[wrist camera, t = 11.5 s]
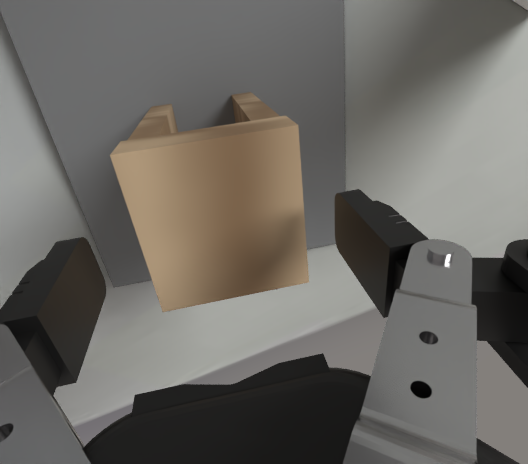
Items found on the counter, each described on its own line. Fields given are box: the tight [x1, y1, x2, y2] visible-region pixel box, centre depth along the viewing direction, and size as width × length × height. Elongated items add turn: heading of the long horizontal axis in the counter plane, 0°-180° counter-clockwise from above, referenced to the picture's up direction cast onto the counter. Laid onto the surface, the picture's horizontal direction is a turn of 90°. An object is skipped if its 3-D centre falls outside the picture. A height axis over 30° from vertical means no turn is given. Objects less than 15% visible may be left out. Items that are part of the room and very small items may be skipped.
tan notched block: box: [110, 92, 309, 312], centre depth 18 cm, size 6×6×11 cm
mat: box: [0, 0, 345, 287], centre depth 23 cm, size 18×18×1 cm
